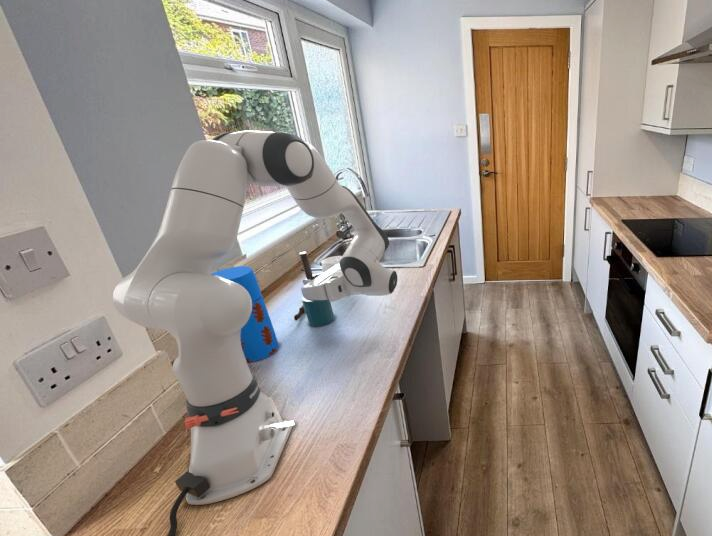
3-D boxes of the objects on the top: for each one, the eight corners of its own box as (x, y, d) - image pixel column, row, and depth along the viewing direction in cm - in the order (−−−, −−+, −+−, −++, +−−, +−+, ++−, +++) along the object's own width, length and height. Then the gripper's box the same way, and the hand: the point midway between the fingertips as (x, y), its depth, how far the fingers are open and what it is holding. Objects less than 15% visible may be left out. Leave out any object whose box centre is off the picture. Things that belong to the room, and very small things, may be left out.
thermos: (260, 363, 113) (229, 282, 102) (228, 360, 115) (195, 280, 105) (287, 342, 123) (261, 266, 112) (257, 340, 125) (229, 265, 114)
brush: (325, 316, 133) (308, 253, 123) (314, 318, 132) (296, 255, 122) (326, 311, 136) (309, 250, 126) (315, 314, 135) (297, 252, 125)
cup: (343, 282, 163) (337, 254, 158) (357, 286, 158) (350, 258, 153) (323, 290, 157) (315, 261, 152) (336, 295, 152) (329, 265, 147)
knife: (308, 300, 149) (306, 293, 148) (313, 299, 149) (311, 292, 148) (294, 324, 133) (291, 316, 132) (299, 324, 133) (296, 316, 132)
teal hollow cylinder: (334, 323, 132) (327, 298, 129) (308, 328, 130) (301, 303, 126) (334, 312, 139) (328, 289, 135) (309, 317, 137) (302, 294, 133)
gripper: (362, 259, 134) (324, 258, 136) (325, 285, 116) (283, 283, 118) (365, 276, 136) (329, 275, 139) (331, 304, 118) (289, 302, 121)
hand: (307, 279), depth 128 cm, fingers closed on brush, 2 cm apart
